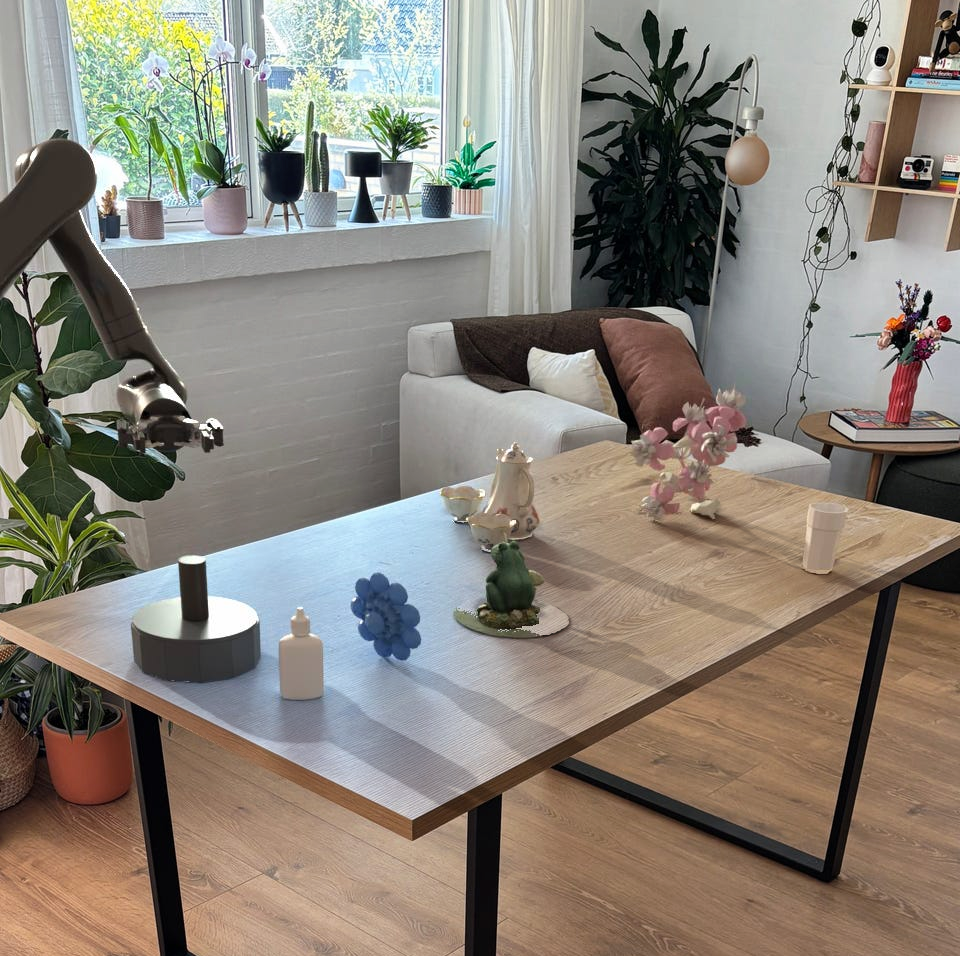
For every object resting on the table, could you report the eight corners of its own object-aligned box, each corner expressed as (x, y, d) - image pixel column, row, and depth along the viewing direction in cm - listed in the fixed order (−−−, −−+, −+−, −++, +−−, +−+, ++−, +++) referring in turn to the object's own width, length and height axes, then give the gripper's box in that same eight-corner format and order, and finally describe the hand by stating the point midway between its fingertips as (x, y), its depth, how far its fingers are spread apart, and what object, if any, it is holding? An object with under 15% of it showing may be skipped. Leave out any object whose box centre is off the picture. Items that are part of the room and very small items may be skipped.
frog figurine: (536, 592, 210) (541, 521, 204) (590, 631, 196) (598, 556, 190) (435, 603, 203) (437, 530, 197) (484, 644, 189) (488, 567, 183)
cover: (121, 678, 172) (111, 576, 165) (153, 632, 186) (145, 537, 179) (246, 686, 172) (242, 584, 165) (268, 640, 186) (265, 544, 179)
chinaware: (426, 522, 244) (420, 433, 235) (507, 508, 249) (504, 420, 240) (483, 570, 223) (479, 473, 213) (571, 553, 228) (570, 458, 219)
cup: (844, 573, 227) (856, 510, 221) (816, 578, 223) (828, 514, 218) (816, 561, 231) (828, 500, 226) (789, 566, 228) (800, 504, 223)
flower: (619, 484, 264) (625, 379, 243) (731, 479, 263) (746, 373, 242) (627, 554, 253) (634, 450, 232) (743, 548, 252) (760, 444, 231)
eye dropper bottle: (287, 685, 173) (285, 599, 167) (327, 692, 172) (326, 605, 166) (275, 698, 169) (272, 610, 163) (316, 704, 168) (315, 616, 162)
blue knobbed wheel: (333, 656, 182) (332, 573, 176) (361, 642, 187) (362, 561, 181) (401, 676, 177) (403, 592, 171) (429, 661, 182) (431, 579, 176)
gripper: (109, 391, 184) (118, 417, 171) (211, 391, 188) (227, 416, 175) (114, 445, 188) (123, 474, 174) (213, 444, 192) (229, 472, 179)
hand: (175, 445), depth 175 cm, fingers open, 8 cm apart
